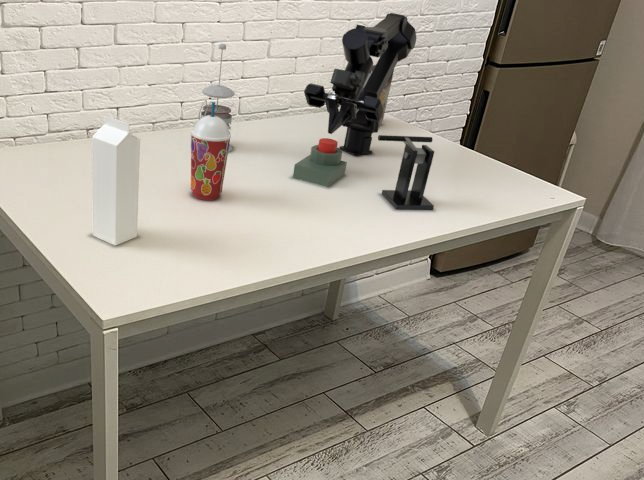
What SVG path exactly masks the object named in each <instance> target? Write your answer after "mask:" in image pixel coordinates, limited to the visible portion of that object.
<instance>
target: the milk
mask: <svg viewBox="0 0 644 480" xmlns="http://www.w3.org/2000/svg"><path fill="white" fill-rule="evenodd" d="M91 143H92V145H91V149H92V150H91V155H92V160H91V161H92V163H91V164H92V167H91V170H92V171H91V173H92V176H91V177H92V178H91V180H92V181H91V182H92V183H91V184H92V191H91V192H92V193H91V194H92V197H91V198H92V199H91V200H92V208H91V209H92V210H91V211H92V212H91V213H92V216H91V217H92V220H91V221H92V236H93V237H95V238H98V239H99V240H102V241H104V242H106V243H108V244H111V245H112V246H118V245H121V244H123V243H126V242H128V241H130V240H132V239H135V238H137V237H138V222H139V221H138V220H139V219H138V216H139V191H140V190H139V188H140V158H141V138H139V137H138V136H136V135H134V134H132V133H131V132H130V124H129V123H128V122H126V121H122V120H121V119H120V120H119V119H116V118H115V117H111V116H108V115H104V116H103V125H101V126H100V127H99V128H98V130H97V131H96V132H95V133H94V134H93V135H92V138H91Z"/></svg>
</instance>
